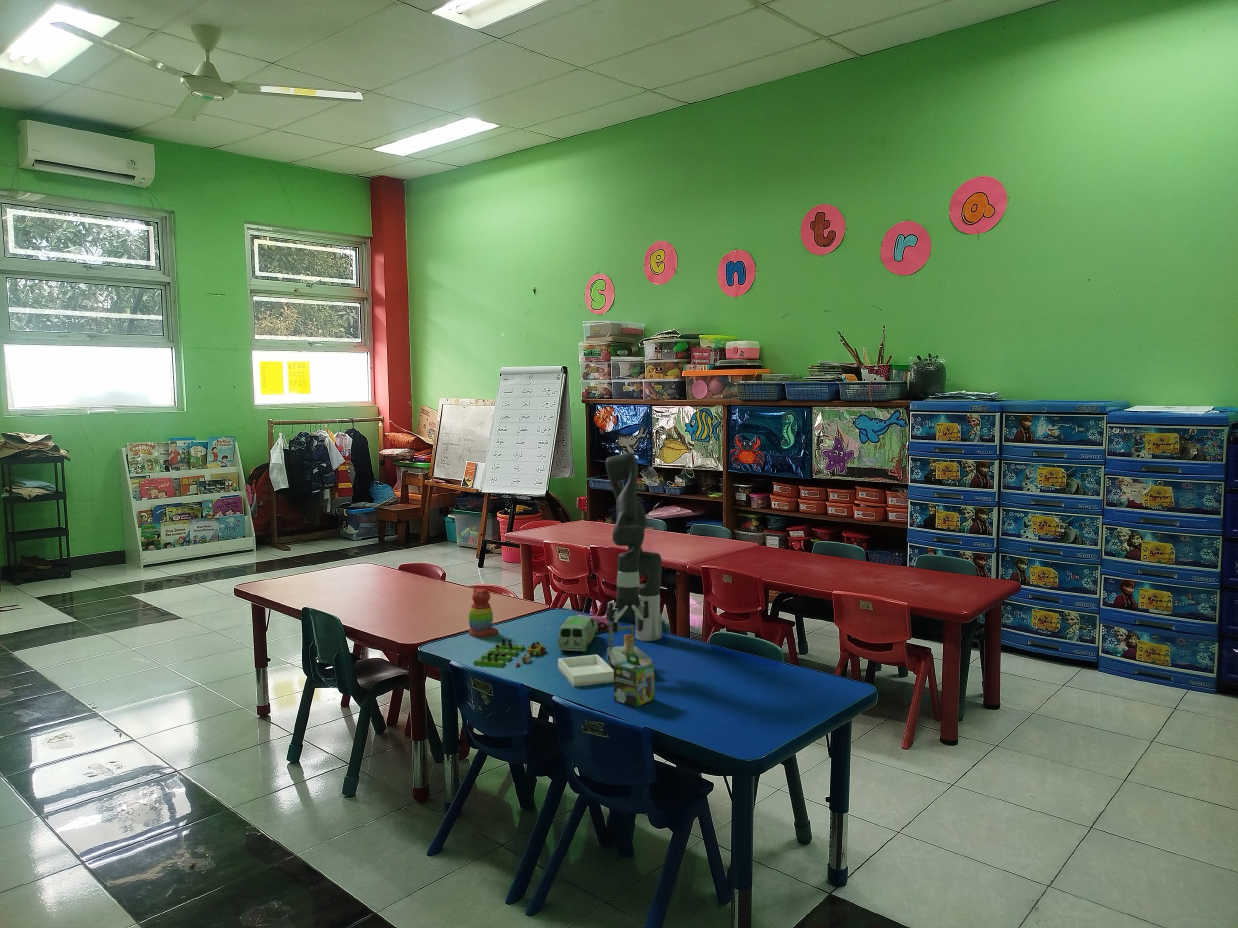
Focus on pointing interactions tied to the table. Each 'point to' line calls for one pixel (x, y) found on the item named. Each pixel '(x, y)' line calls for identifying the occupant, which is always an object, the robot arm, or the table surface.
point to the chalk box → (634, 681)
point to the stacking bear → (481, 615)
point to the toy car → (577, 633)
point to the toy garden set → (508, 654)
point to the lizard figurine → (601, 624)
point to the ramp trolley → (617, 653)
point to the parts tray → (586, 670)
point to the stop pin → (628, 643)
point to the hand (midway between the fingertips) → (627, 631)
